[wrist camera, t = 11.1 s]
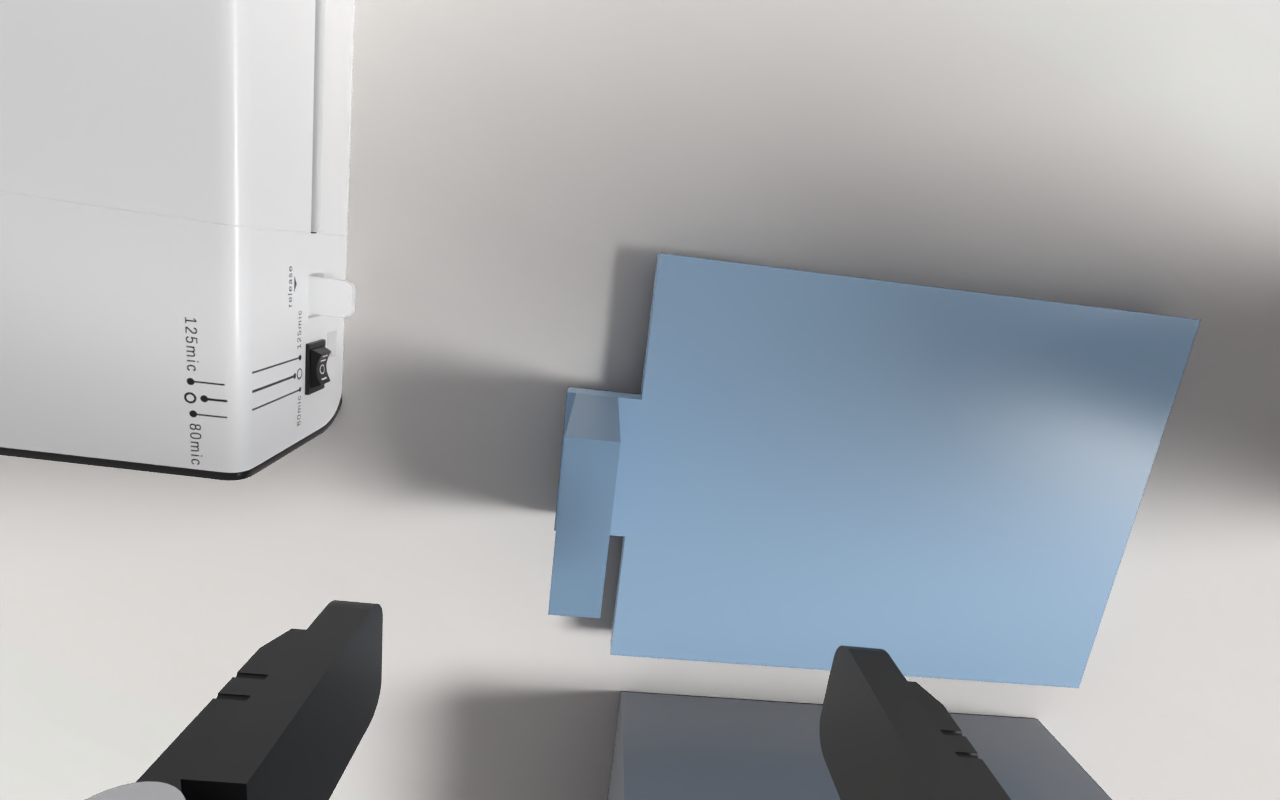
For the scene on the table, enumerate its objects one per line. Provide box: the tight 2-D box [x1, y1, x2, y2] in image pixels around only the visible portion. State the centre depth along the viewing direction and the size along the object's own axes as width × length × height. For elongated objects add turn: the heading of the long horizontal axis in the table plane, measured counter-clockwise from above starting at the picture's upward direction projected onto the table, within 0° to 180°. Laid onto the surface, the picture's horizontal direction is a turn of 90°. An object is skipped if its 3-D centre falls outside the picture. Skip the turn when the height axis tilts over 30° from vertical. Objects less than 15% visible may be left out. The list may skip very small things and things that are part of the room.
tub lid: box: [548, 253, 1200, 688], centre depth 19 cm, size 15×21×7 cm
